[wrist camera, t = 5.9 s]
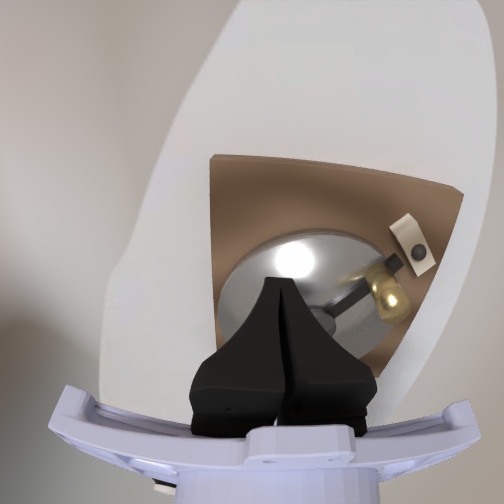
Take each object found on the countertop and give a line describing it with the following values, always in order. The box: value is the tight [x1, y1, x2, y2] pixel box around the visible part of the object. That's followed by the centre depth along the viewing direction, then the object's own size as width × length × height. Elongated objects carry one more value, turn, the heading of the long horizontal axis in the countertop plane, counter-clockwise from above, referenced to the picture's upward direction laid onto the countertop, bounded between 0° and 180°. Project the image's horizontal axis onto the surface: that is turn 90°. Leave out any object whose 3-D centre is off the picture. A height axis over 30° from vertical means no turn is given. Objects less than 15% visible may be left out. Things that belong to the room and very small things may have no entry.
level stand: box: [210, 154, 464, 378], centre depth 19 cm, size 20×16×3 cm
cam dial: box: [217, 228, 411, 359], centre depth 17 cm, size 14×13×5 cm
